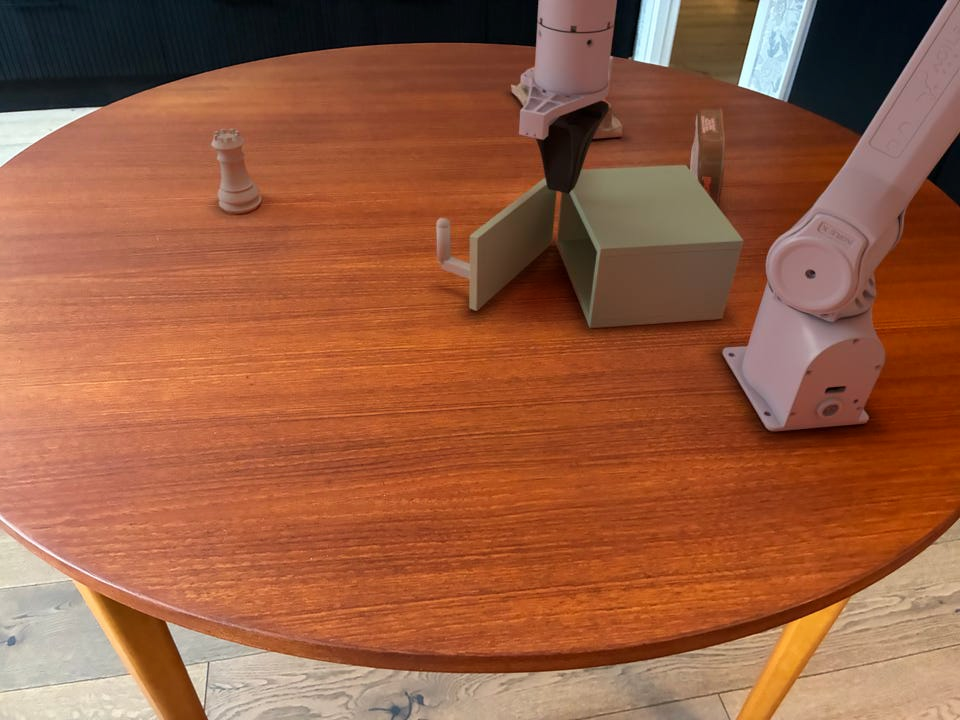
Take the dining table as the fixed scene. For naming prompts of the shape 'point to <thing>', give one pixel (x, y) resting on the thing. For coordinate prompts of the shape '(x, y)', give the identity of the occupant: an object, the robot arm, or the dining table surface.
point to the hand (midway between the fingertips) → (561, 188)
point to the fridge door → (502, 243)
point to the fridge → (646, 246)
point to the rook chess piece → (234, 174)
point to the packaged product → (606, 127)
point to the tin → (709, 151)
